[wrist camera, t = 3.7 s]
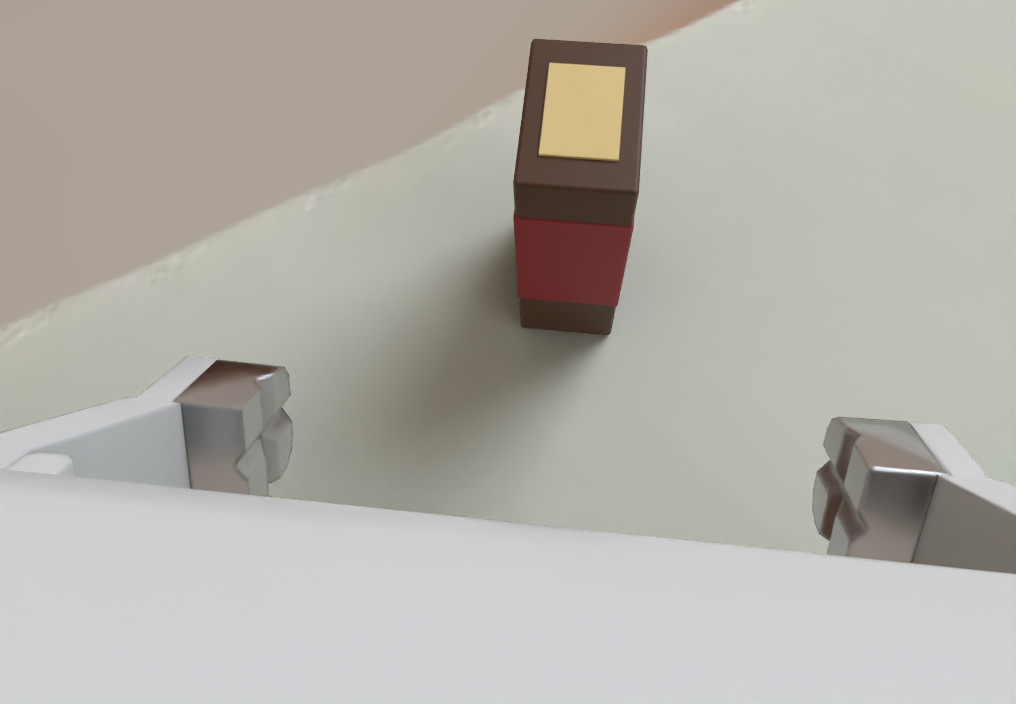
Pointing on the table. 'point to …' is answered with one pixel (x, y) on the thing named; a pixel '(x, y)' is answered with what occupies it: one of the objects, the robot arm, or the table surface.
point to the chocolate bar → (577, 181)
